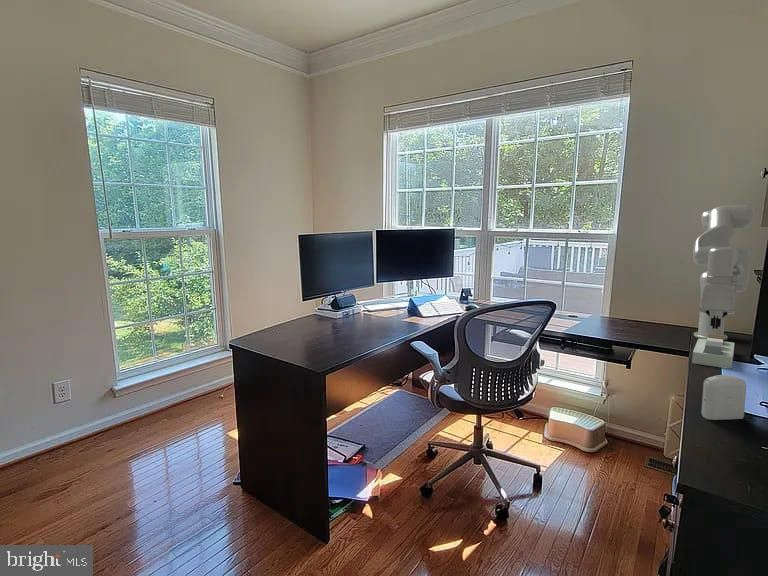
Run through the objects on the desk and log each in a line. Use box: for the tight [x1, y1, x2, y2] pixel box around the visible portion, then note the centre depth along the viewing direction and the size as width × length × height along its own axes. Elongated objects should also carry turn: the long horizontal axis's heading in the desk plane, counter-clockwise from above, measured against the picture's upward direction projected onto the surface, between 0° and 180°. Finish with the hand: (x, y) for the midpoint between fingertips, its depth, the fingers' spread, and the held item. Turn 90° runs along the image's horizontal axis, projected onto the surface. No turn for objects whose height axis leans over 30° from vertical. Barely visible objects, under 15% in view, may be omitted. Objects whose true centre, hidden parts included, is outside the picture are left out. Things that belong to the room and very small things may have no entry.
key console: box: [691, 338, 735, 369], centre depth 169 cm, size 24×12×4 cm, turn 139°
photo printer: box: [700, 374, 747, 421], centre depth 118 cm, size 10×4×12 cm, turn 90°
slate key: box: [704, 342, 722, 355], centre depth 163 cm, size 5×5×4 cm
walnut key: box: [708, 334, 725, 342], centre depth 175 cm, size 5×5×4 cm
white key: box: [706, 338, 723, 347], centre depth 169 cm, size 5×5×4 cm
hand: (715, 328), depth 161 cm, fingers closed
